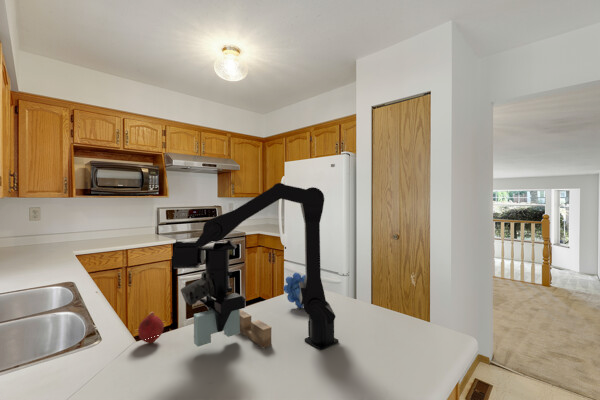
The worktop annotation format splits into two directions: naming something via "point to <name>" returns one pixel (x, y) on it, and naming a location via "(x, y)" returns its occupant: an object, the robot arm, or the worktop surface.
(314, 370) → the worktop surface
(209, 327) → the cross plate
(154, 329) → the onion
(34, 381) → the worktop surface
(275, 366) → the worktop surface
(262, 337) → the slot rail
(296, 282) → the grapes
